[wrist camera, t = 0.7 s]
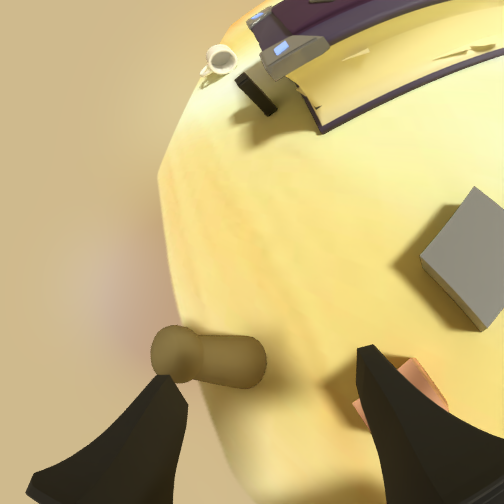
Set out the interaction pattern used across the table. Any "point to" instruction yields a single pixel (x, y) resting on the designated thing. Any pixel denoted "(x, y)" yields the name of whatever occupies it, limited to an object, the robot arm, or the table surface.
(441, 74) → the book
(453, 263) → the gray block
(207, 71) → the mug
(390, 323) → the table surface
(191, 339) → the cork
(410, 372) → the terracotta cube
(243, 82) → the ink cartridge
